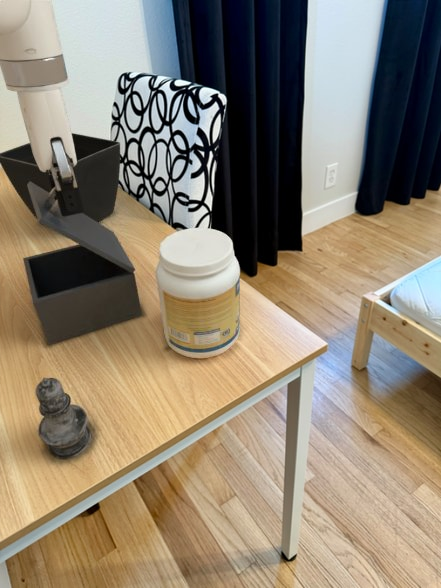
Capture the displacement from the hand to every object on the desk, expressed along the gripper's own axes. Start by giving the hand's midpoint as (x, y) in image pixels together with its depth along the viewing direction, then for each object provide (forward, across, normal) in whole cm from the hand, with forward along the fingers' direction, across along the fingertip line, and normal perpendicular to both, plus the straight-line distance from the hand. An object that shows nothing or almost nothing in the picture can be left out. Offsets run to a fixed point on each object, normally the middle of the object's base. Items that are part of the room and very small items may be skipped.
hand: (68, 204), depth 65 cm
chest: (+20, 0, -1) cm, 20 cm away
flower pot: (+19, -35, +4) cm, 40 cm away
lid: (+4, 0, +1) cm, 5 cm away
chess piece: (+20, +26, -9) cm, 34 cm away
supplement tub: (+20, +16, +14) cm, 29 cm away
